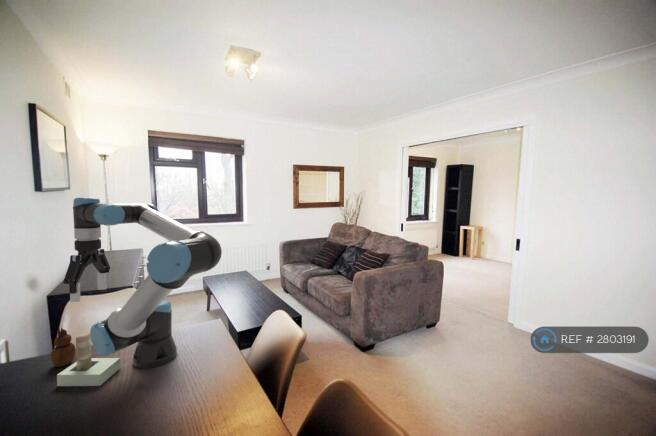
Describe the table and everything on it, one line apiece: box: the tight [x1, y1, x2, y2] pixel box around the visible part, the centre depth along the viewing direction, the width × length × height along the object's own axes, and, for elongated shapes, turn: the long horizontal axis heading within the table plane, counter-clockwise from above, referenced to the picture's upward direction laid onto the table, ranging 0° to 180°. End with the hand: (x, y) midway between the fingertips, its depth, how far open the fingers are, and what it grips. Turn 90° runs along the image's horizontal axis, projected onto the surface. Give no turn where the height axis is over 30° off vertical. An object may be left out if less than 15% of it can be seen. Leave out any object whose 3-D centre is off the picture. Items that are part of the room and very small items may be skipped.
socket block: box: [56, 357, 121, 387], centre depth 100 cm, size 14×10×4 cm
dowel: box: [75, 333, 93, 371], centre depth 99 cm, size 4×4×15 cm
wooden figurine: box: [50, 327, 76, 368], centre depth 106 cm, size 7×6×15 cm
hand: (89, 295), depth 105 cm, fingers open, 13 cm apart
